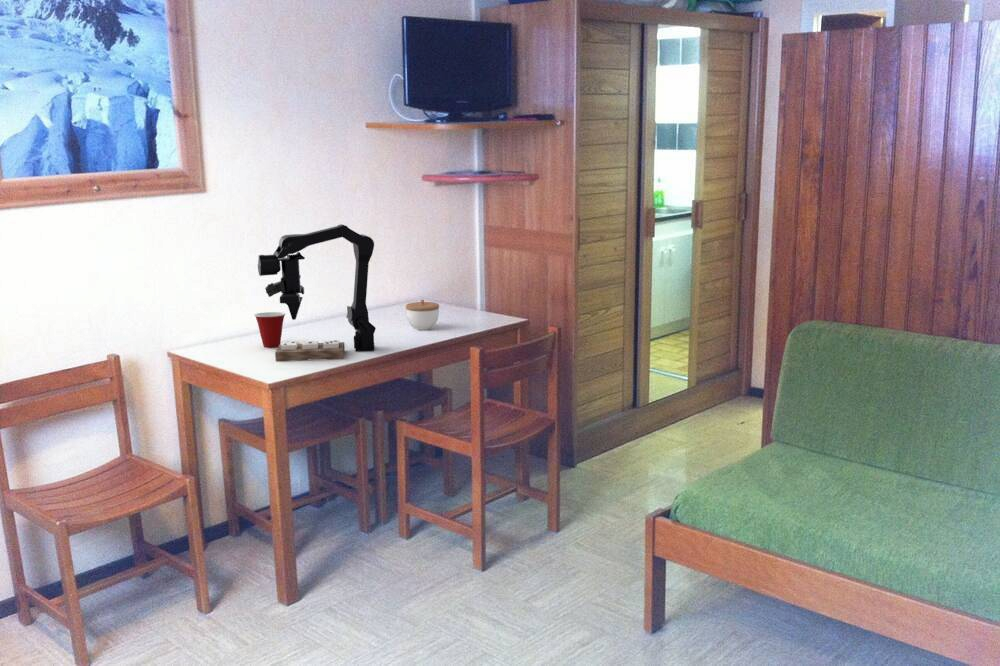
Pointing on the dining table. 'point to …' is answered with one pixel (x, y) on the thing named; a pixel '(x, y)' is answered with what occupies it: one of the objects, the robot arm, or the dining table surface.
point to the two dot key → (289, 346)
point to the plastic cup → (270, 328)
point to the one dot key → (310, 345)
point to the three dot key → (331, 344)
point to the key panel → (310, 353)
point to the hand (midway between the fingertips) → (294, 319)
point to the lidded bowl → (422, 314)
